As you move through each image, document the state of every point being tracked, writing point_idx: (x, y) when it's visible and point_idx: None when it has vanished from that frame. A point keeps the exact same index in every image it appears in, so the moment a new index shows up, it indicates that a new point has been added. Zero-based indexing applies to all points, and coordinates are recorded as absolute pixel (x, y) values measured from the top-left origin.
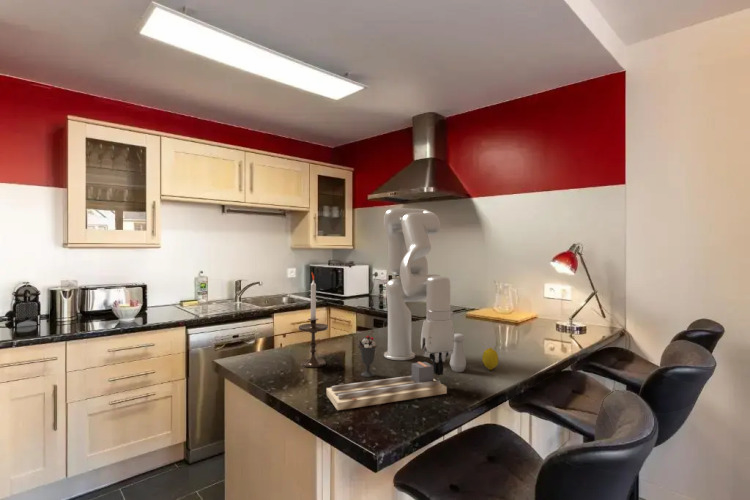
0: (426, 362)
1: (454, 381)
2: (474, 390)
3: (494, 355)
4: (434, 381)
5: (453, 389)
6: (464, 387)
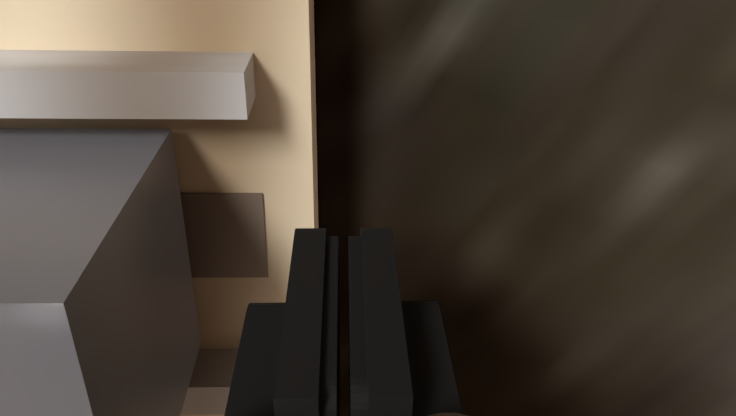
0: (67, 357)
1: (686, 96)
2: (644, 400)
3: None
4: (183, 410)
5: (464, 318)
6: (622, 309)
